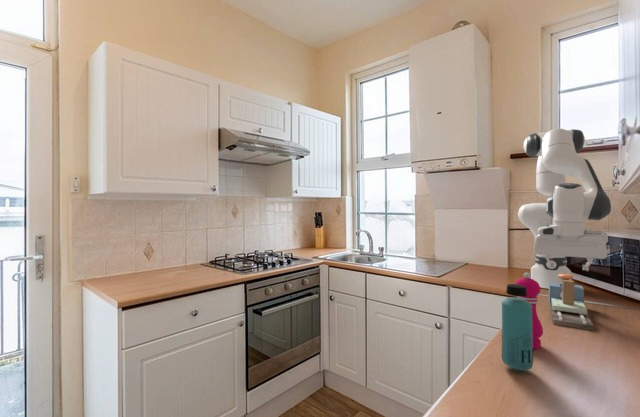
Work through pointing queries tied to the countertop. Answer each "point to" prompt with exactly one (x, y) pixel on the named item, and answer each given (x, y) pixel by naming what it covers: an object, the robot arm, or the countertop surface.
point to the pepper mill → (532, 298)
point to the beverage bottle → (517, 329)
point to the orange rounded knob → (565, 277)
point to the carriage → (568, 300)
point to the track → (571, 319)
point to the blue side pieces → (557, 292)
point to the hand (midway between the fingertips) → (568, 269)
